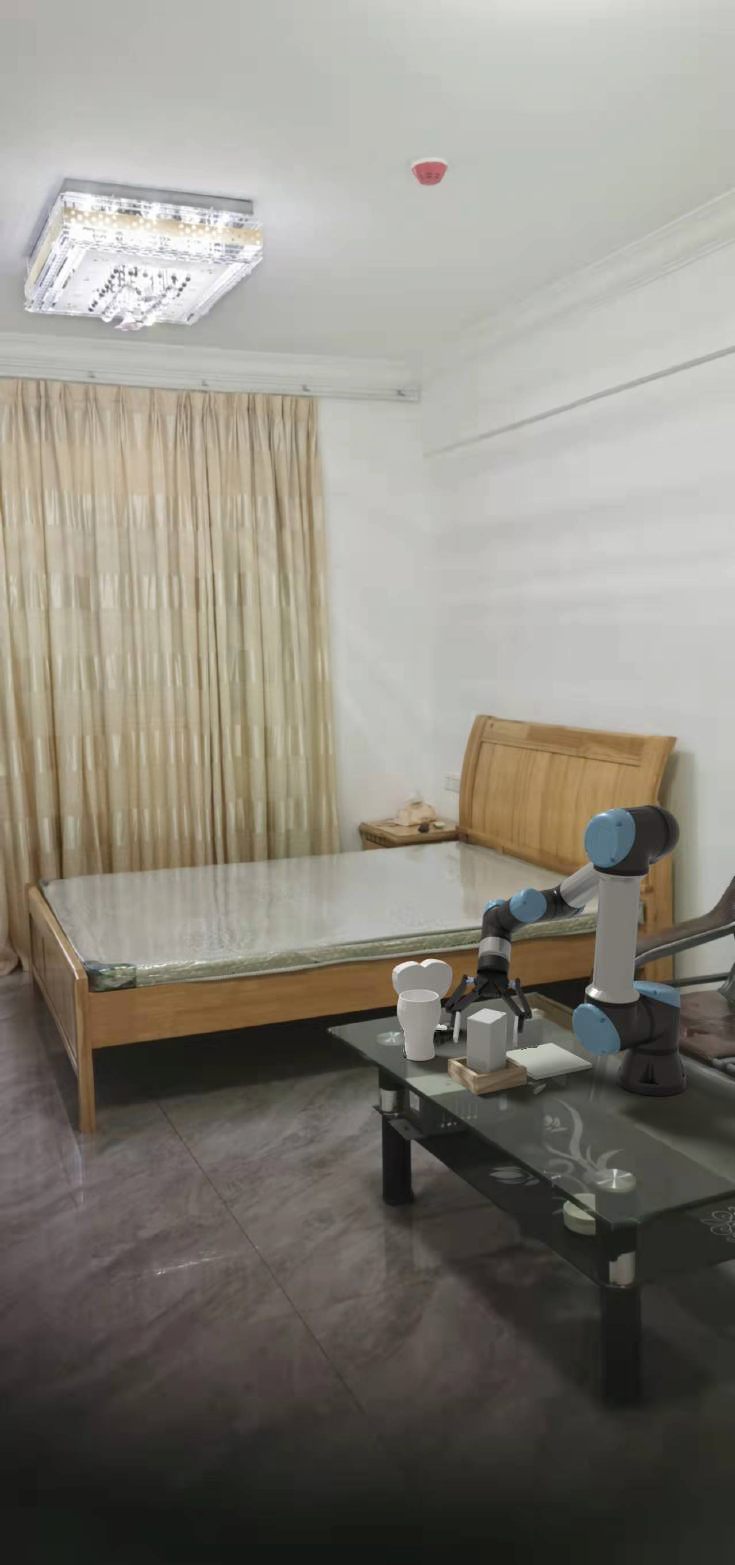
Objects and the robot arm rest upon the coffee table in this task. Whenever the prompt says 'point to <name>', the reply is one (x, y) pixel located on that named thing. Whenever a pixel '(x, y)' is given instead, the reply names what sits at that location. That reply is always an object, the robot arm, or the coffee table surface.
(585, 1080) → the coffee table surface
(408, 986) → the heart sculpture
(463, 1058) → the caddy
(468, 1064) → the skincare box
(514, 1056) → the board
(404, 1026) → the cup
